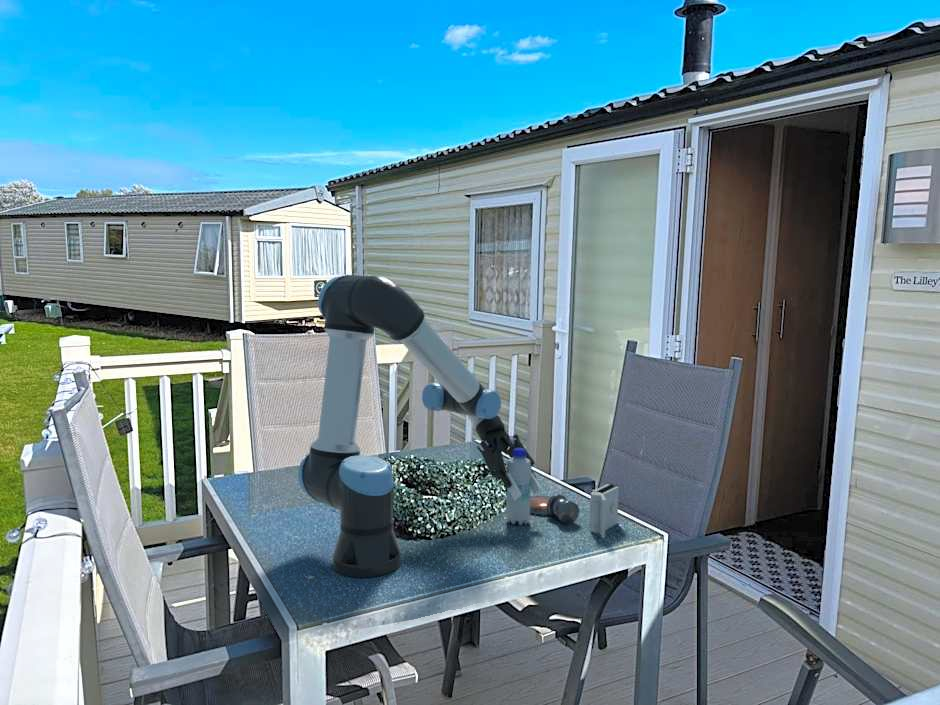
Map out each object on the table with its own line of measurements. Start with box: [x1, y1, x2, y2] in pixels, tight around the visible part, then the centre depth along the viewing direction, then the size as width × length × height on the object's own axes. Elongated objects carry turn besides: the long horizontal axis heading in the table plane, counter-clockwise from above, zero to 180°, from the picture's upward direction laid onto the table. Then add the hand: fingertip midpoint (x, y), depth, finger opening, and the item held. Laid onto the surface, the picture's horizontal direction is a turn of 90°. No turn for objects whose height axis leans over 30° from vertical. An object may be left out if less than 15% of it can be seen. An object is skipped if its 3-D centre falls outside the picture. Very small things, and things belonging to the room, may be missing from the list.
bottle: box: [505, 448, 532, 526], centre depth 178 cm, size 7×7×20 cm
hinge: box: [589, 483, 620, 539], centre depth 174 cm, size 14×5×10 cm, turn 153°
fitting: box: [530, 493, 580, 525], centre depth 187 cm, size 21×14×6 cm
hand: (528, 494), depth 175 cm, fingers closed on bottle, 7 cm apart
